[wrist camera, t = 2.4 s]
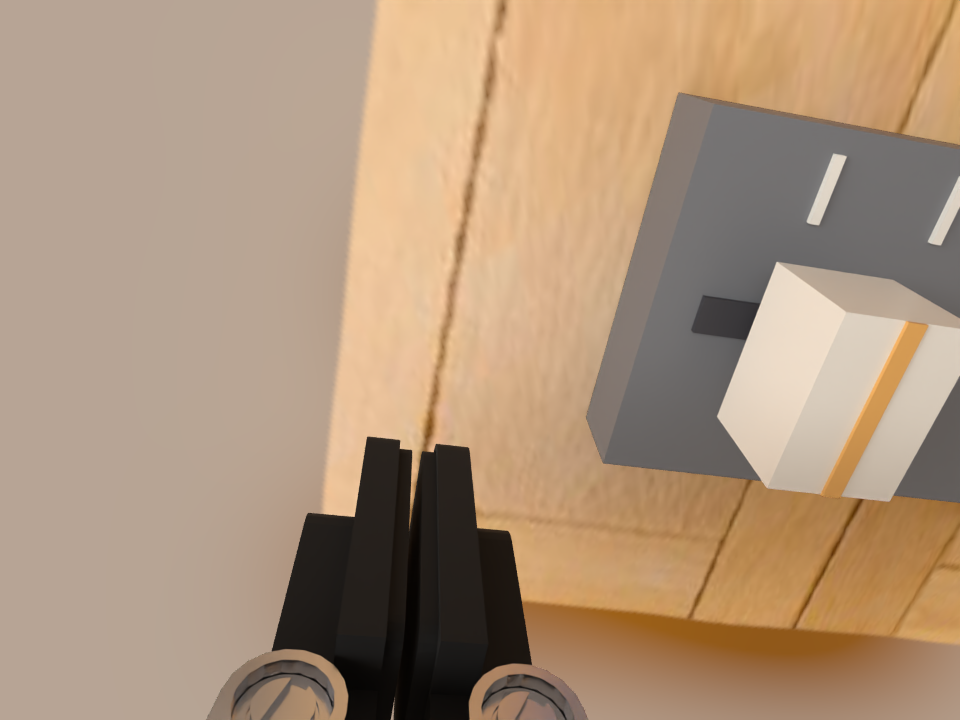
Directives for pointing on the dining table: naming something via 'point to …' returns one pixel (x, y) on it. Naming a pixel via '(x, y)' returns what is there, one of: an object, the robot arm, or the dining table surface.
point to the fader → (839, 382)
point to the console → (765, 271)
